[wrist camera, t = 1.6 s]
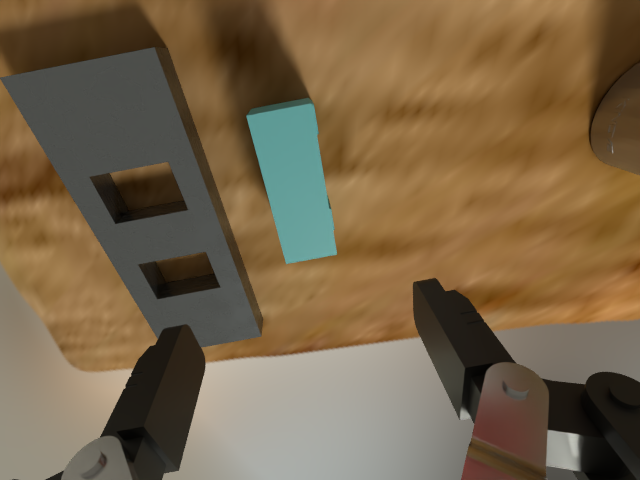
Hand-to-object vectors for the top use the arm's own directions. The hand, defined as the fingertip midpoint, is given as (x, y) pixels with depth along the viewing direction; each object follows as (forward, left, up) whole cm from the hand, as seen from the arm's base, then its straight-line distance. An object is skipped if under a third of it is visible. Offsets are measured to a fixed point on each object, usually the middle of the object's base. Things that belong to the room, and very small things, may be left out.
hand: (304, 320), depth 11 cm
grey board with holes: (+12, +3, -18) cm, 22 cm away
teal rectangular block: (0, 0, -18) cm, 18 cm away
